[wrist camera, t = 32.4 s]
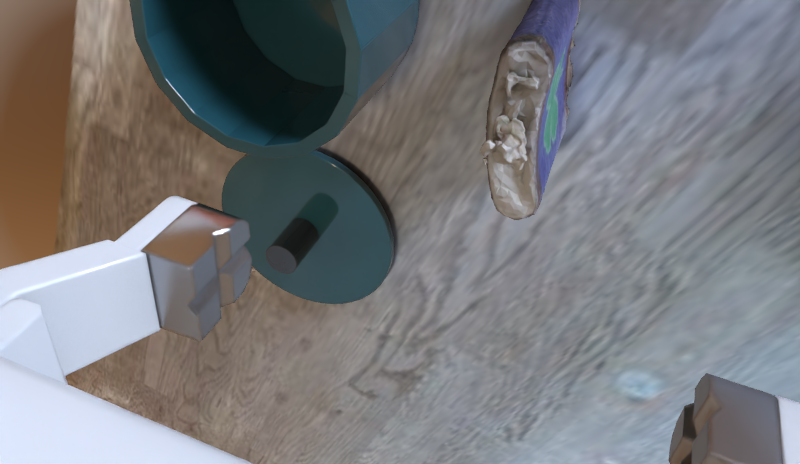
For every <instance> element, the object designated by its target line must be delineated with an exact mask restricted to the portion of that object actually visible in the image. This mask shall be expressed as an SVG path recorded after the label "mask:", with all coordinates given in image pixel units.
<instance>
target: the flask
mask: <svg viewBox="0 0 800 464" xmlns="http://www.w3.org/2000/svg"><path fill="white" fill-rule="evenodd" d="M580 3H581V0H532V3H531V4H530V6H529V8H528V10H527V12H526V14H525V15H524V17H523V19H522V21H521V23H520V25H519V26H518V27H517V29H516V30H515V32H514V33H513V35H512V37H511V39H510V40H509V42H508V43H507V45H506V47H505V48H504V49H503V51H502V53H501V55H500V59H499V62H498V65H497V70H496V74H495V77H494V83H493V87H492V91H491V95H490V98H489V107H488V111H487V125H486V131H487V132H486V142H485V143H484V144H483V145H482V147H481V150H480V153H481V154H482V155H483V156H484V157H485V156H487V158H483V162H484V164H487V169H488V178H489V186H490V191H491V198H492V200H493V202H494V205H495V207H496V209H497V211H499V212H500V213H502V214H503V215H505V216H507V217H509V218H512V219H514V220H519V219H523V218H527V217H530V216H531V215H534V214H535V213H536V211H537V209H538V207H539V205H540V202H541V200H542V195H543V193H544V190H545V185H546V183H547V179H548V176H549V173H550V170H551V167H552V164H553V161H554V158H555V156H556V153H557V150H558V148H559V145H560V143H561V140H562V137H563V136H564V133H565V131H566V122H567V117H568V115H569V108H567V103H566V101H567V96H568V94H567V93H568V91H569V90H568V89H569V87H570V86H571V79H572V77H573V74H572V71H573V66H572V64H571V60H570V57H569V55H570V54H569V53H570V50H571V48H573V47H574V46H575V45H574V41H573V37H572V35H573V30H574V28H575V26H576V25H577V24H578V23H577V19H578V15H579V13H580Z"/></svg>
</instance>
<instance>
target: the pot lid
mask: <svg viewBox="0 0 800 464" xmlns="http://www.w3.org/2000/svg"><path fill="white" fill-rule="evenodd" d="M222 209H223V212H225V213H228V214H230V215H233V216H236V217H239V218H242V219H244V220H245V221H247V222H248V223H249V228H250V239H249V240H248V241H247V242H246V243H245V244H244V245H245V247H246V248H247V250H248V251H249V253H250V254H251V256H252V266H253V267H254V268H255V269H256V270H257V271H258V272H259V273H260V274H262V275H263V276H264V277H265V278H267V279H268V280H269V281H271V282H272V283H273V284H275V285H277V286H278V287H280V288H281V289H283V290H285V291H287V292H289V293H291V294H293V295H296V296H298V297H301V298H303V299H307V300H310V301H314V302H320V303H327V304H343V303H349V302H353V301H356V300H360V299H362V298H364V297H366V296H368V295H369V294H371V293H372V292H373V291H375V290H376V289H377V288H378V287H379V286H380V285H381V284H382V282H383V281H384V279H385V277H386V276H387V274H388V272H389V270H390V267H391V265H392V261H393V256H394V240H393V233H392V229H391V225H390V222H389V220H388V217H387V214H386V212H385V210H384V209H383V207H382V205H381V203H380V201H379V200H378V199H377V197H376V196H375V194H374V193H373V192H372V190H371V189H370V188H369V187H368V186H367V185H366V183H365V182H364V181H363V180H362V179H360V178H359V177H358V176H357V175H356V174H355V173H354V172H353V171H351V170H350V169H349V168H347V167H346V166H345V165H343V164H342V163H340V162H338V161H337V160H335V159H334V158H332V157H330V156H328V155H325V154H323V153H321V152H319V151H316V150H314V151H312V152H311V153H309V154H308V155H305V156H295V157H285V158H274V159H264V158H260V157H257V156H254V155H250V154H246V155H245V156H244V157H242V158H241V159H240V160H239V161H238V162H237V163H236V164H235V165H234V166H233V167H232V169H231V170H230V172H229V173H228V175H227V177H226V180H225V183H224V186H223V192H222Z"/></svg>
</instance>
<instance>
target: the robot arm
mask: <svg viewBox="0 0 800 464" xmlns="http://www.w3.org/2000/svg"><path fill="white" fill-rule="evenodd" d="M249 239H250V228H249V223H248V222H247V221H245V220H244V219H242V218H239V217H236V216H233V215H230V214H228V213H225V212H222V211H219V210H217V209H214V208H211V207H208V206H206V205H203V204H200V203H195V202H193V201H190V200H187V199H185V198H182V197H179V196H177V195H176V196H172V197H168V198H167V199H165V200H164V201H163V202H162V203H161V204H159V205H158V206H157V207H156V208H155V209H153V210H152V211H151V212H150V213H149V214H147V215H146V216H145V217H144V218H143V219H141V220H140V221H139V222H138V223H137V224H135V225H134V226H133V227H132V228H131V229H129V230H128V231H127V232H126V233H125V234H123V235H122V236H121V237H120V238H119V239H117V240H116V241H115V242H113V241H110V240H105V241H101V242H97V243H94V244H90V245H87V246H83V247H79V248H76V249H72V250H69V251H65V252H61V253H58V254H54V255H51V256H47V257H44V258H40V259H36V260H33V261H29V262H25V263H22V264H18V265H15V266H11V267H7V268H4V269H0V464H253V463H251V462H248V461H246V460H244V459H241V458H239V457H236V456H234V455H232V454H229V453H227V452H225V451H222V450H220V449H218V448H215V447H213V446H211V445H208V444H206V443H204V442H201V441H199V440H197V439H194V438H192V437H189V436H187V435H185V434H182V433H180V432H178V431H175V430H173V429H171V428H168V427H166V426H164V425H161V424H159V423H157V422H154V421H152V420H150V419H147V418H145V417H142V416H140V415H138V414H135V413H133V412H131V411H128V410H126V409H124V408H121V407H119V406H117V405H114V404H112V403H110V402H107V401H105V400H103V399H100V398H98V397H95V396H93V395H91V394H88V393H86V392H84V391H81V390H79V389H77V388H74V387H72V386H70V385H68V383H67V381H66V378H65V376H66V375H68V374H70V373H72V372H74V371H76V370H79V369H81V368H83V367H85V366H87V365H89V364H91V363H93V362H95V361H97V360H99V359H101V358H103V357H106V356H108V355H110V354H112V353H114V352H116V351H118V350H120V349H122V348H124V347H126V346H128V345H130V344H133V343H135V342H137V341H139V340H141V339H143V338H145V337H147V336H149V335H151V334H153V333H155V332H158V331H160V328H162V329H165V330H168V331H171V332H174V333H176V334H179V335H182V336H185V337H188V338H191V339H193V340H196V341H199V342H201V341H202V340H203V339H204V338H205V336H206V335H207V334H208V333H209V332H210V331H211V329H212V328H213V327H214V326H215V325H216V324H217V323H218V321H219V320H220V319H221V307H223V306H226V305H229V304H231V303H234V302H235V301H236V300H237V299H238V298H239V297H240V295H241V294H242V293H243V292H244V289H245V287H246V285H247V283H248V281H249V279H250V274H251V269H252V256H251V254H250V253H249V251H248V250H247V248H246V247H245V245H244V244H245V243H246V242H247V241H248V240H249ZM669 462H670V464H800V403H798V402H795V401H792V400H789V399H786V398H783V397H780V396H776V395H772V394H769V393H766V392H763V391H760V390H757V389H754V388H751V387H748V386H745V385H742V384H738V383H735V382H732V381H729V380H726V379H723V378H720V377H717V376H714V375H711V374H708V373H706V374H705V375H704V376H703V377H702V378H701V380H700V381H699V383H698V385H697V386H696V388H695V400H694V403H692V404H689V405H686V406H685V407H684V409H683V411H682V412H681V414H680V416H679V418H678V420H677V423H676V426H675V429H674V432H673V435H672V439H671V445H670V452H669Z"/></svg>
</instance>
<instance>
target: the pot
mask: <svg viewBox="0 0 800 464" xmlns="http://www.w3.org/2000/svg"><path fill="white" fill-rule="evenodd" d="M130 7H131V13H132V20H133V27H134V34H135V38H136V42H137V44H138V46H139V48H140V50H141V52H142V54H143V56H144V59H145V61H146V63H147V65H148V67H149V69H150V71H151V73H152V76H153V78H154V80H155V82H156V83H157V85H158V86H159V88H160V89H161V90H162V91H163V92H164V94H165V95H166V96H167V97H168V98H169V99H170V101H171V102H172V103H173V104H174V105H175V107H176V108H177V109H178V110H179V111H180V112H181V114H182V115H183V116H184V117H185V118H186V119H187V121H189V122H190V123H192V124H193V125H195V126H196V127H198V128H199V129H201V130H202V131H203V132H205V133H206V134H208V135H209V136H211V137H212V138H214V139H215V140H217V141H218V142H220V143H221V144H222V145H224V146H226V147H227V148H230V149H234V150H237V151H240V152H244V153H247V154H250V155H254V156H257V157H260V158H264V159H274V158H285V157H295V156H305V155H308V154H309V153H311V152H312V151H314V150H316V149H317V148H319V147H320V146H322V145H324V144H325V143H327V142H328V141H330V140H331V139H333V138H335V137H336V136H338V135H339V133H340V132H341V131H342V130H343V129H344V128H345V127H346V126H347V125H348V124H349V123H350V121H351V120H352V119H353V118H354V117H355V116H356V115H357V114H358V113H359V112H360V111H361V109H362V108H363V107H364V106H365V105H366V104H367V103H368V102H369V101H370V100H371V99H372V97H373V96H374V95H375V94H376V93H377V92H378V91H379V90H380V89H381V88H382V87H383V85H384V84H385V83H386V82H387V81H388V80H389V79H390V78H391V77H392V76H393V74H394V73H395V71H396V69H397V68H398V66H399V65H400V63H401V62H402V60H403V59H404V57H405V56H406V54H407V52H408V50H409V48H410V46H411V44H412V41H413V38H414V35H415V32H416V26H417V21H418V11H419V0H130Z"/></svg>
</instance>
